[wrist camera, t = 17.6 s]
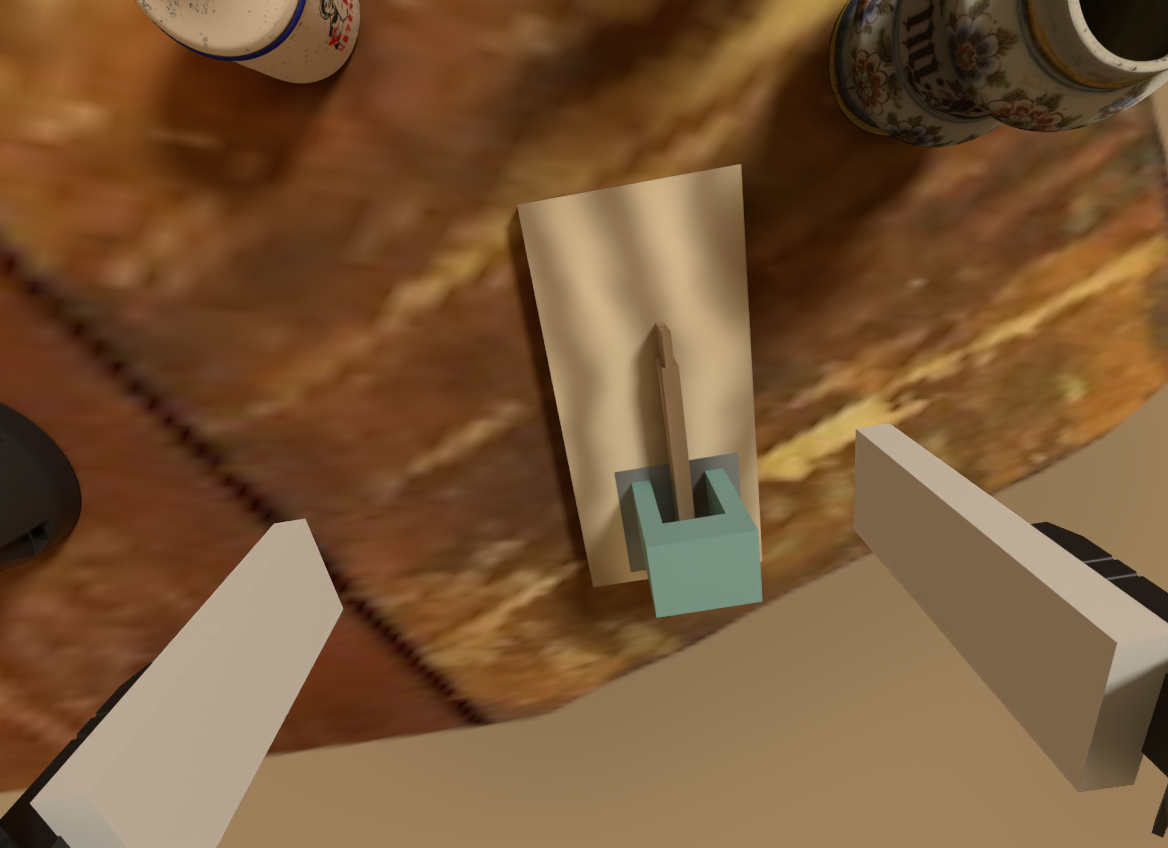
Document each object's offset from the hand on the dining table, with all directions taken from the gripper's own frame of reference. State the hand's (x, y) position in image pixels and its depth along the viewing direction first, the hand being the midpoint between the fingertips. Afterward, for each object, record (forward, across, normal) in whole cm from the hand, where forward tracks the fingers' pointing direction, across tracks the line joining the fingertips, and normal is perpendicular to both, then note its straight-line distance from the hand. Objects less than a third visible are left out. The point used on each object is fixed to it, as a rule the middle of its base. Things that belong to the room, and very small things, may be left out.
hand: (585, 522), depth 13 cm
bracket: (+29, +6, -18) cm, 35 cm away
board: (+31, +5, -9) cm, 32 cm away
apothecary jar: (+31, +24, +12) cm, 41 cm away
